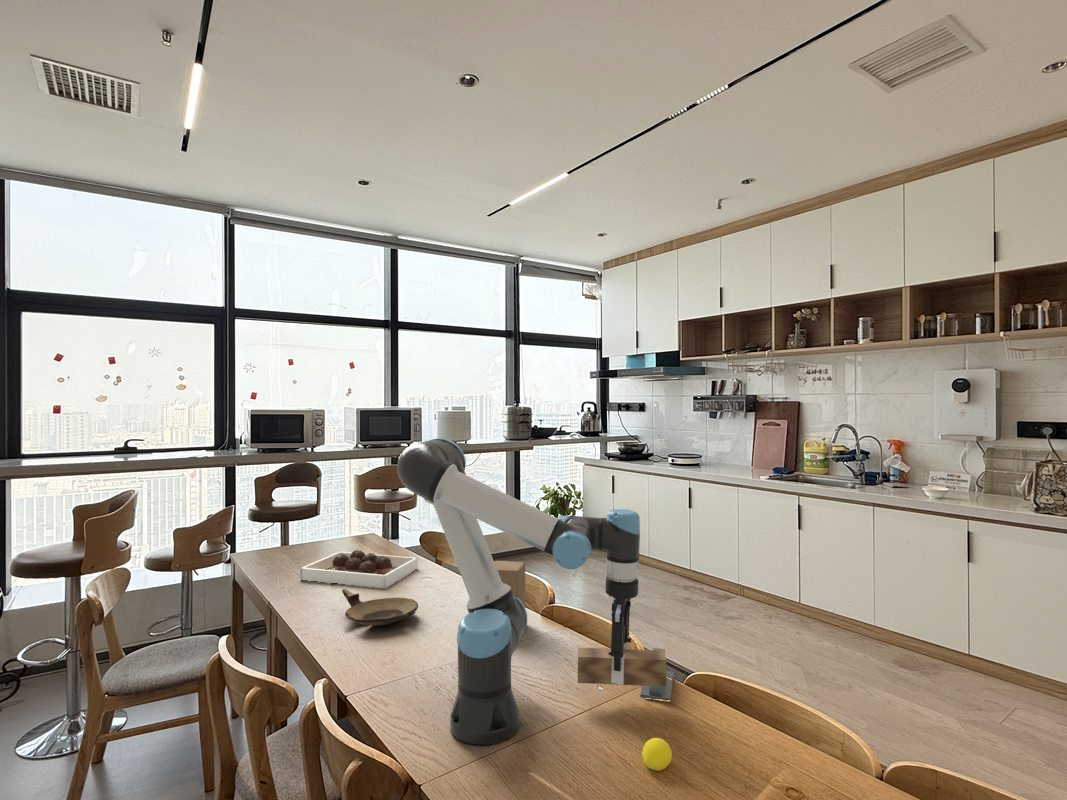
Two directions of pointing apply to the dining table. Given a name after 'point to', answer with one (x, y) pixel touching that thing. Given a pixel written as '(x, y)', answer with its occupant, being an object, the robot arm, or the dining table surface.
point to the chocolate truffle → (362, 563)
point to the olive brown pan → (378, 609)
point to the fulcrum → (659, 687)
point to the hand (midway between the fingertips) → (619, 676)
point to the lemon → (656, 754)
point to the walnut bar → (637, 667)
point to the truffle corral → (320, 573)
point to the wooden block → (513, 577)
